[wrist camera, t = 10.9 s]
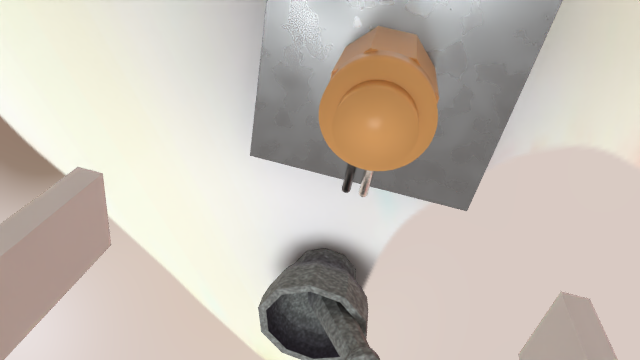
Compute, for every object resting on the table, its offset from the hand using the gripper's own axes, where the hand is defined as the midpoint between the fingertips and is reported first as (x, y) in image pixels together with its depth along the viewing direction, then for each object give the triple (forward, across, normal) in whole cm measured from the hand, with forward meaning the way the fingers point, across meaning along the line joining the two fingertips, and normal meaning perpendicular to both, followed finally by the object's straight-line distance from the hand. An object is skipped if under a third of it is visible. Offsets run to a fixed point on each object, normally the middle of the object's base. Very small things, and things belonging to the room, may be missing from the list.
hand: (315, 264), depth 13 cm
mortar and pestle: (+23, +1, -22) cm, 31 cm away
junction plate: (+23, +1, -1) cm, 23 cm away
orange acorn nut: (+21, +1, -1) cm, 21 cm away
